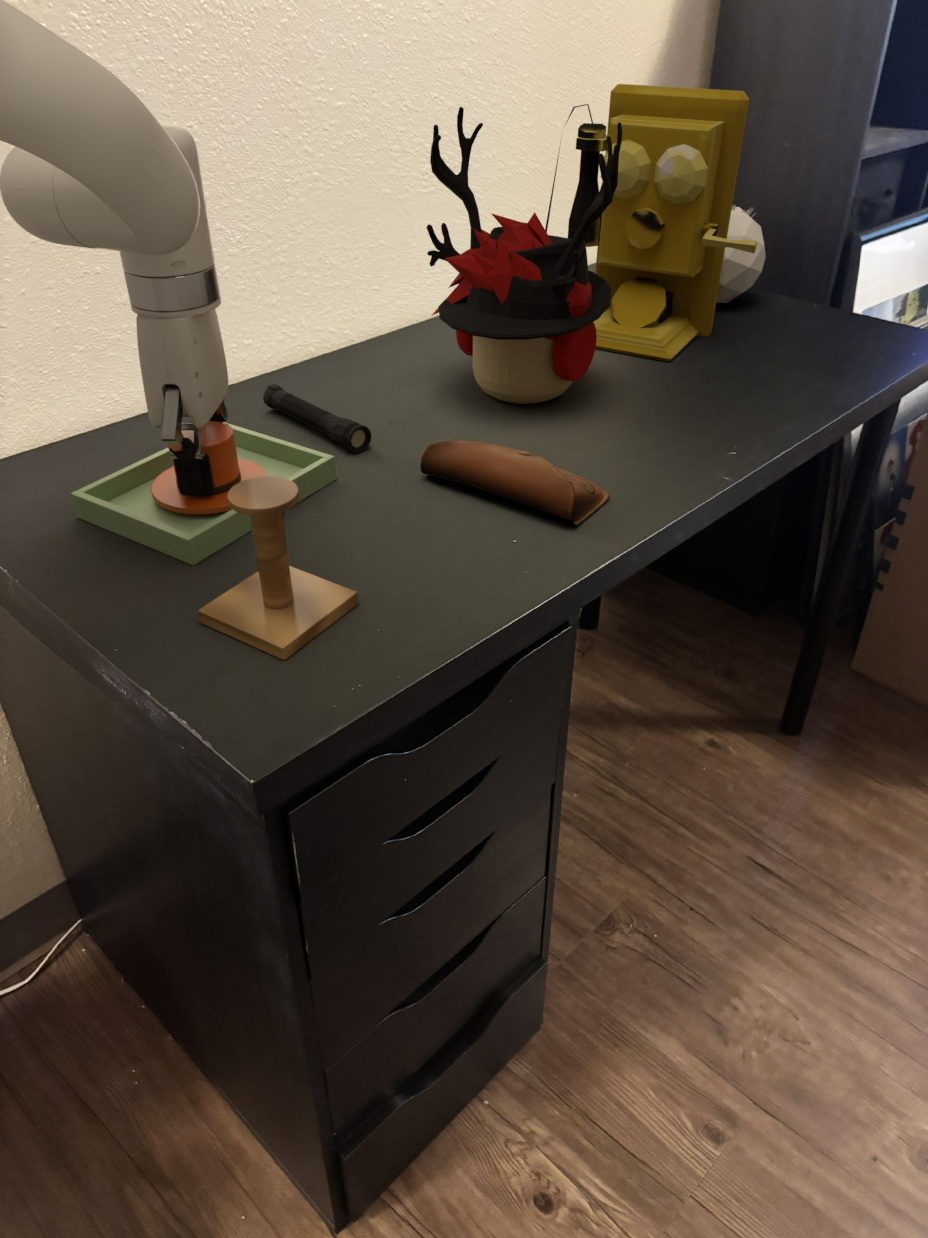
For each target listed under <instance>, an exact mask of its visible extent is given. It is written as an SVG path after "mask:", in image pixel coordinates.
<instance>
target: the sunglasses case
mask: <svg viewBox="0 0 928 1238" xmlns="http://www.w3.org/2000/svg"><path fill="white" fill-rule="evenodd" d="M419 464H420V465H419V467H420V472H421V473H422V474H423V475H428V476H430V477H431V476H433V477H436V478H439V479H443V480H447V481H451V482H457V483H459V484H463V485H467V486H473V487H475V488H477V489H480V490H483V491H485V492H488V493H491V494H493V495H496V496H500V497H504V498H508V499H510V500H512V501H515V502H517V503H520V504H522V505H526V506H528V507H532V508H534V509H538V510H541V511H543V512H546V513H549V514H551V515H554V516H557V517H559V518H562V519H564V520H569V521H571V523H573V524H574V525H575V526H579V525H581V524H582V523H584V522H585V521H586V520H588V519H589V518H591V517H592V515H594V514H595V513H596V512H597V511H598V510H599V509H600V508H601V507H602V506H603V505H604V504H605V503H606V502H607V501H608V500H609V499H610V494H609V493H608V492H607V491H606V490H604V488H602V487H601V486H599V485H597V484H596V483H594V482H592V481H590V480H589V479H586V478H584V477H582V476H580V475H578V474H575V473H573V472H571V471H568V470H565V469H563V468H560V467H558V466H555V465H553V464H552V463H550V462H549V461H548V460H547V459H545V458H544V457H542V456H539V455H536V454H531V453H530V452H528V451H525V450H521V449H517V448H513V447H508V446H503V445H499V444H493V443H490V442H482V441H473V440H444V441H435V442H432V443H431V444H429V445H427V447H426V448H425V449H424V452H423V454H422V456H421V459H420V463H419Z"/></svg>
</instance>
